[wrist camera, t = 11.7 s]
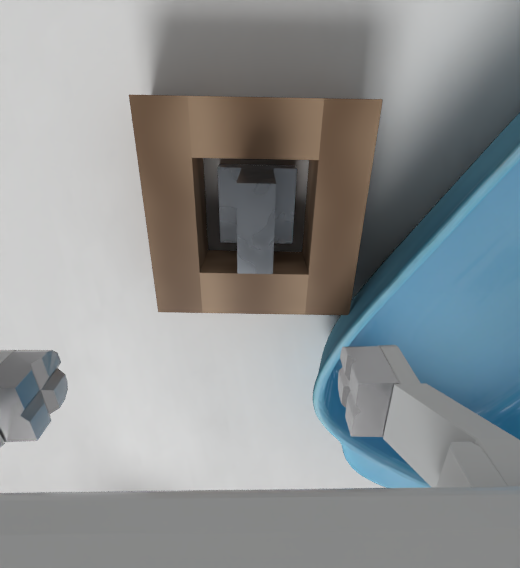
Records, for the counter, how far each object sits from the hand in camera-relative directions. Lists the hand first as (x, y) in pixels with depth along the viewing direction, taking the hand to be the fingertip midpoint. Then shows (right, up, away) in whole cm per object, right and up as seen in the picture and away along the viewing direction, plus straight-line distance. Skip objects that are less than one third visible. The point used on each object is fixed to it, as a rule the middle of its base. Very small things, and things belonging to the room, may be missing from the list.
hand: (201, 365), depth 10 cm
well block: (+1, +8, +14) cm, 16 cm away
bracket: (+2, +8, +14) cm, 17 cm away
